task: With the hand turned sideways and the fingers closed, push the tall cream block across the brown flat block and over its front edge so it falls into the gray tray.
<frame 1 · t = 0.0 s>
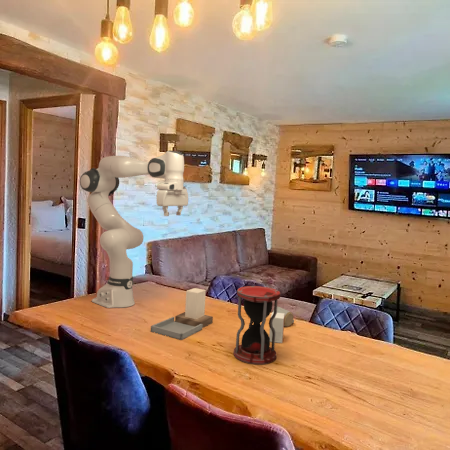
hand: (172, 215, 195), 48 cm above the table, tool pointing down, fingers open, 8 cm apart
hourglass: (254, 356, 158), on the table
cream block: (194, 316, 192), point 3 cm above the table, touching brown flat block
gray tray: (176, 330, 180), on the table
small box: (276, 339, 176), on the table
ceramic mug: (283, 324, 197), on the table
brown flat block: (193, 322, 191), on the table
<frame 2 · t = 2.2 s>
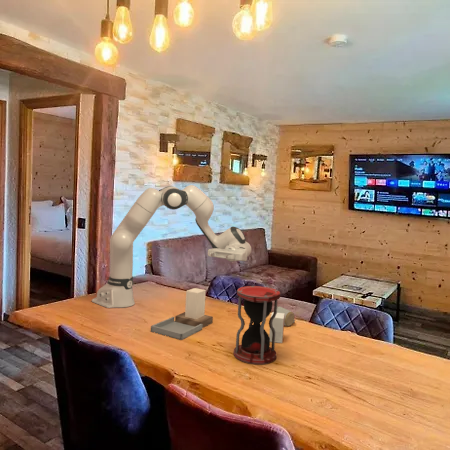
hand: (219, 256, 206), 28 cm above the table, tool horizontal, fingers open, 8 cm apart
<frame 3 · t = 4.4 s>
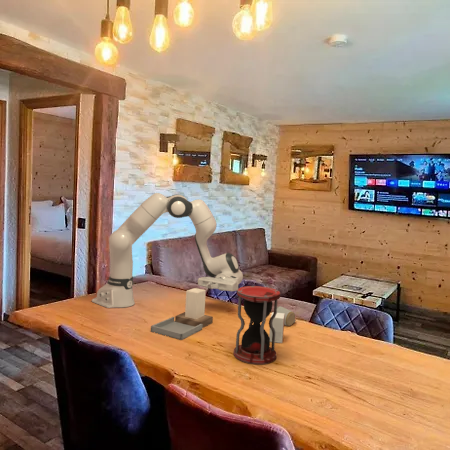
hand: (209, 286, 200), 15 cm above the table, tool horizontal, fingers closed
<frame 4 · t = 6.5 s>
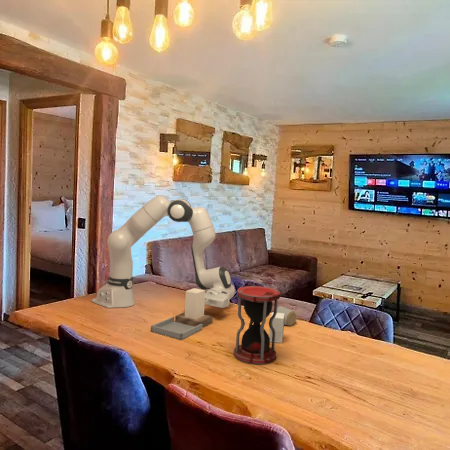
hand: (198, 303, 194), 8 cm above the table, tool horizontal, fingers closed, pressing on cream block
cream block: (194, 316, 191), point 3 cm above the table, touching gripper
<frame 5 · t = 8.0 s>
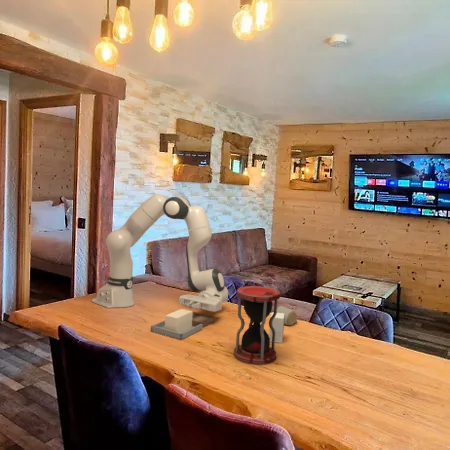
hand: (190, 306, 187), 8 cm above the table, tool horizontal, fingers closed
cream block: (186, 317, 185), point 4 cm above the table, tilted 90°, touching gray tray
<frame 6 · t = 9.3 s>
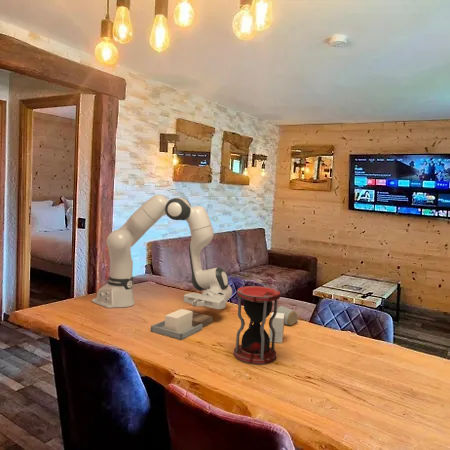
hand: (194, 304, 190), 9 cm above the table, tool horizontal, fingers closed
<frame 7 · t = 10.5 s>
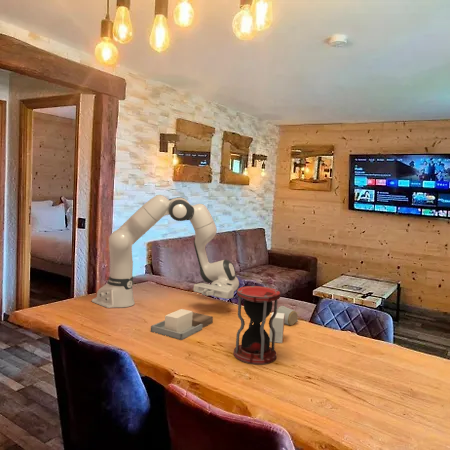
hand: (204, 293, 200), 11 cm above the table, tool horizontal, fingers closed
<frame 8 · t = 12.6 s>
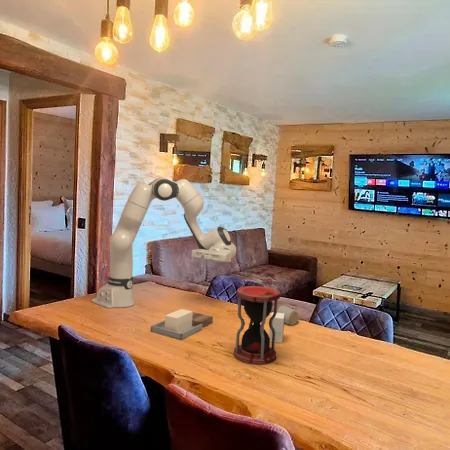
hand: (202, 257, 204), 28 cm above the table, tool horizontal, fingers closed
at the end: cream block touching gray tray; cream block inside the target area on the gray tray (6.1 cm from its centre), point 4.0 cm above the gray tray's base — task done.
